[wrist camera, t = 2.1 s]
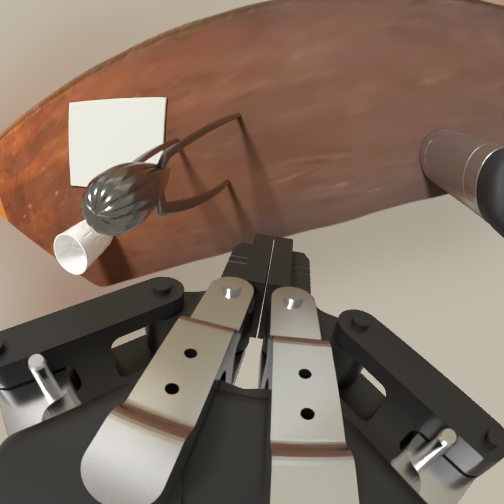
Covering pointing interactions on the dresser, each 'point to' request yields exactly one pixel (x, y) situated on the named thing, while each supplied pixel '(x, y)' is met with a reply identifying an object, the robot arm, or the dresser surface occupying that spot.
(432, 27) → the dresser surface
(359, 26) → the dresser surface
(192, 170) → the dresser surface
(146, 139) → the mat
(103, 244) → the white cup
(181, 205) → the juicer
